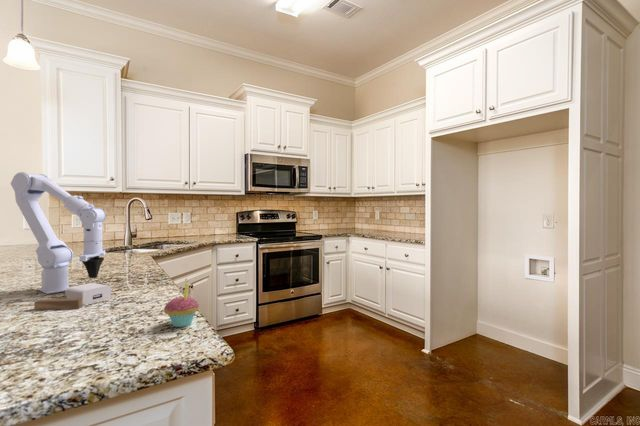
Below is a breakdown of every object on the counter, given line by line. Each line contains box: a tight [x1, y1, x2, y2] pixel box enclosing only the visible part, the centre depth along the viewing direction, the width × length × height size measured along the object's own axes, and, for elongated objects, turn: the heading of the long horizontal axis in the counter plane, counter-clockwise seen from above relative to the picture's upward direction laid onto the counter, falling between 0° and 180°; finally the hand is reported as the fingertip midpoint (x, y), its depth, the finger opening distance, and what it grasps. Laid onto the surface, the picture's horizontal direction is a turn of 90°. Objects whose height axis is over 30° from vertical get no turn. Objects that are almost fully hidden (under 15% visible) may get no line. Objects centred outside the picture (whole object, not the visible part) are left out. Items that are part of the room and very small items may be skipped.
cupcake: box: [163, 280, 200, 328], centre depth 90 cm, size 9×8×12 cm
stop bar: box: [33, 298, 84, 311], centre depth 103 cm, size 2×12×2 cm, turn 99°
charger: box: [64, 282, 112, 305], centre depth 113 cm, size 5×9×15 cm
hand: (93, 277), depth 123 cm, fingers closed
